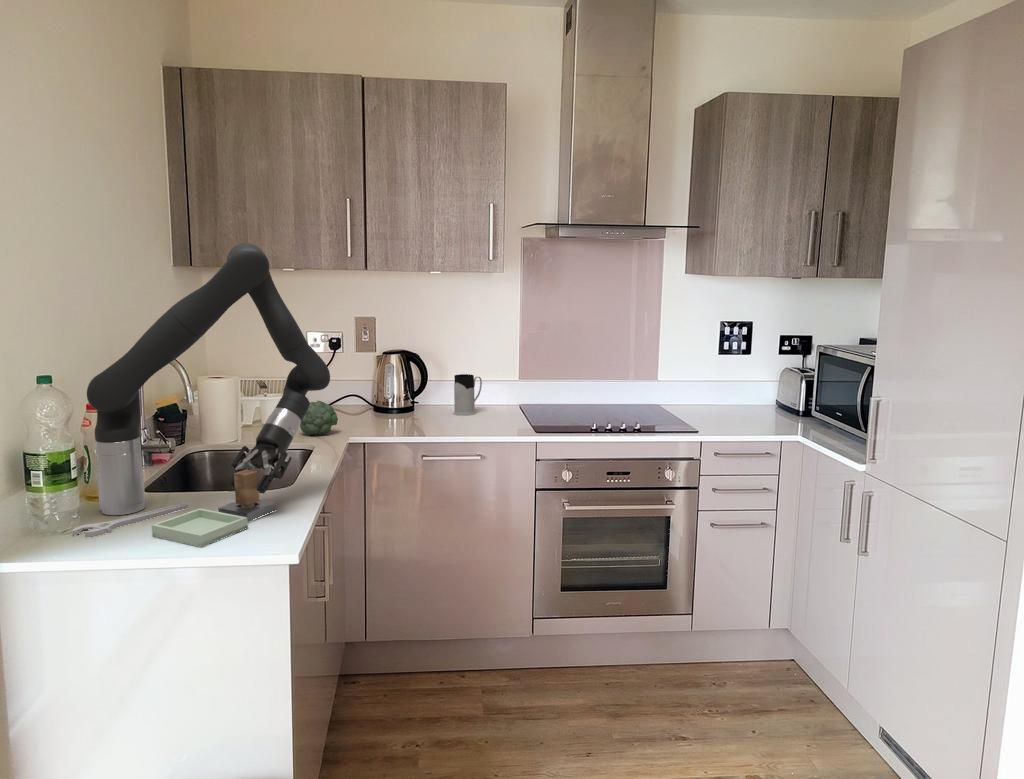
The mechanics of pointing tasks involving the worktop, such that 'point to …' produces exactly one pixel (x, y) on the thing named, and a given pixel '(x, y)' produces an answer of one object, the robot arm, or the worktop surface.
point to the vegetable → (318, 418)
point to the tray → (199, 527)
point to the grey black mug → (465, 394)
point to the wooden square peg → (246, 488)
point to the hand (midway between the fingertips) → (246, 489)
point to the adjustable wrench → (125, 521)
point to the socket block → (250, 509)
